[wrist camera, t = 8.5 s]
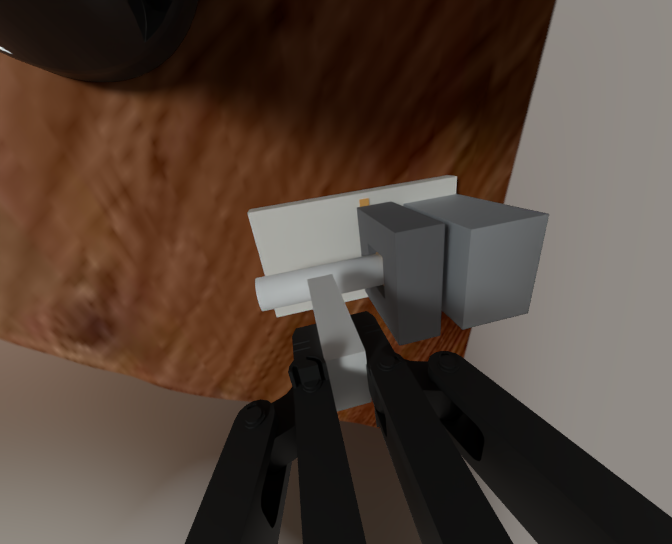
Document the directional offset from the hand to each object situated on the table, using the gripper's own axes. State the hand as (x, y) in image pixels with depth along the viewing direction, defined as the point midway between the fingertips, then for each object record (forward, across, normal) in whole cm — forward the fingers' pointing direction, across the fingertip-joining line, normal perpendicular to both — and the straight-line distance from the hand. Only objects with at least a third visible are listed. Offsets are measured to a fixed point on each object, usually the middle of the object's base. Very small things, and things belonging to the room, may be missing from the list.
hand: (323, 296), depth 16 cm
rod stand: (+10, +5, -1) cm, 11 cm away
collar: (+8, +6, -1) cm, 10 cm away
